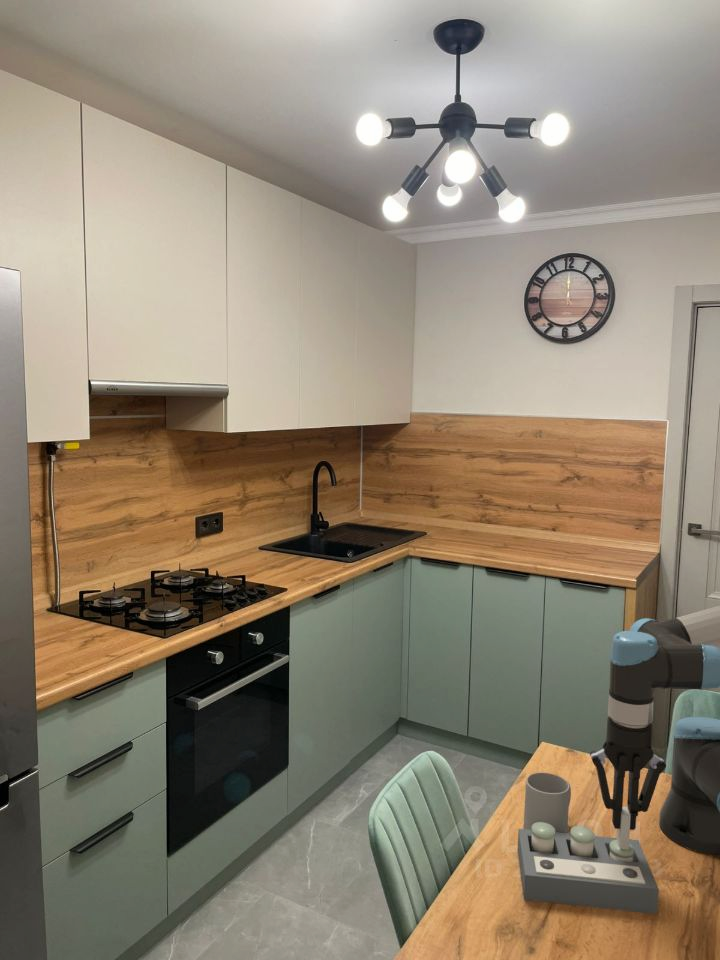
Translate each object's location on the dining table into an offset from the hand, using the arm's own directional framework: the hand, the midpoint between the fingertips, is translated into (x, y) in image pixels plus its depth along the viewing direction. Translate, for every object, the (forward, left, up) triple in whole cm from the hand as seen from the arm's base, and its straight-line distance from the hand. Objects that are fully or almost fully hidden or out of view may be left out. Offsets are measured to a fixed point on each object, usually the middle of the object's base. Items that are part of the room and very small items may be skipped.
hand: (622, 844), depth 131 cm
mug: (+11, -12, -6) cm, 17 cm away
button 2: (0, 0, -5) cm, 5 cm away
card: (+7, +7, -2) cm, 10 cm away
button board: (+7, +3, -6) cm, 10 cm away
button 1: (+14, 0, -3) cm, 14 cm away
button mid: (+7, 0, -3) cm, 8 cm away
